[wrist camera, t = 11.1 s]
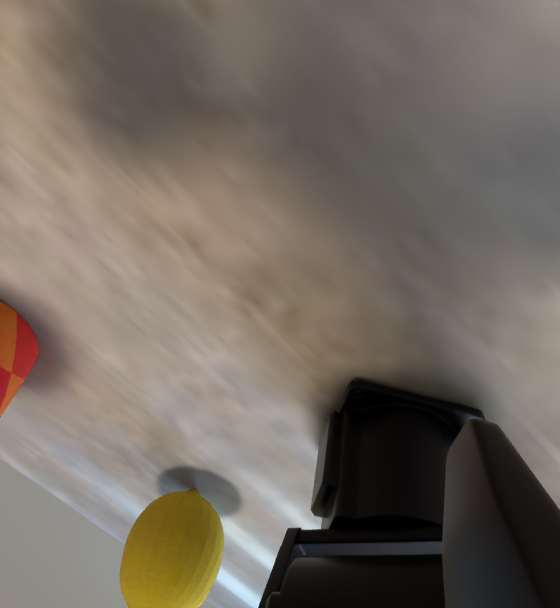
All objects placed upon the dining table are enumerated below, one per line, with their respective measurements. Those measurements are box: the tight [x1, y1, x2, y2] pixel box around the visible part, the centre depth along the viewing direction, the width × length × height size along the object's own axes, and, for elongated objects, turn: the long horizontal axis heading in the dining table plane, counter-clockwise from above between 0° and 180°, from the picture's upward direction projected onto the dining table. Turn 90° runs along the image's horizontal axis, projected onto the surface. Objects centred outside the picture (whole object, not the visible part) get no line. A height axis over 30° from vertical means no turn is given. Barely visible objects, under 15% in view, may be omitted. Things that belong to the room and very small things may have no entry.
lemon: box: [120, 489, 224, 608], centre depth 30 cm, size 6×6×8 cm
